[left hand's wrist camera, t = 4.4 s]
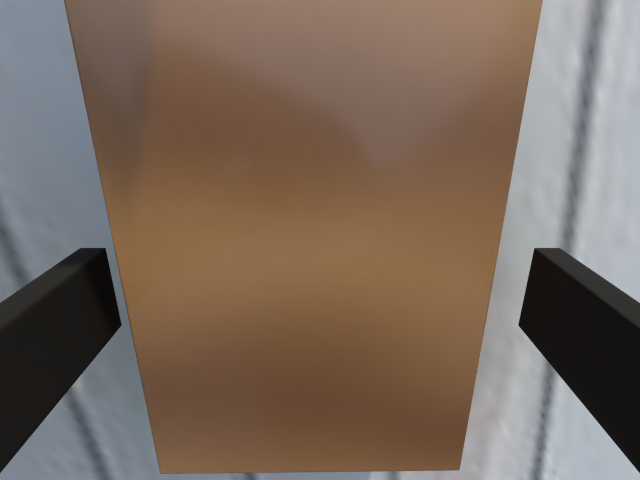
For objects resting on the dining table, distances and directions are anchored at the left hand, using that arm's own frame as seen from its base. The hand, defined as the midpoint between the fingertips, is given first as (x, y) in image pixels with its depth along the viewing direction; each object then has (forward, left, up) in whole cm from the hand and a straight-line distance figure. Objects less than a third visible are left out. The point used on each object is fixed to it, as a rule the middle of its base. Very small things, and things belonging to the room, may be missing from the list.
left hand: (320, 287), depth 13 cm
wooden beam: (-3, +29, -5) cm, 30 cm away
